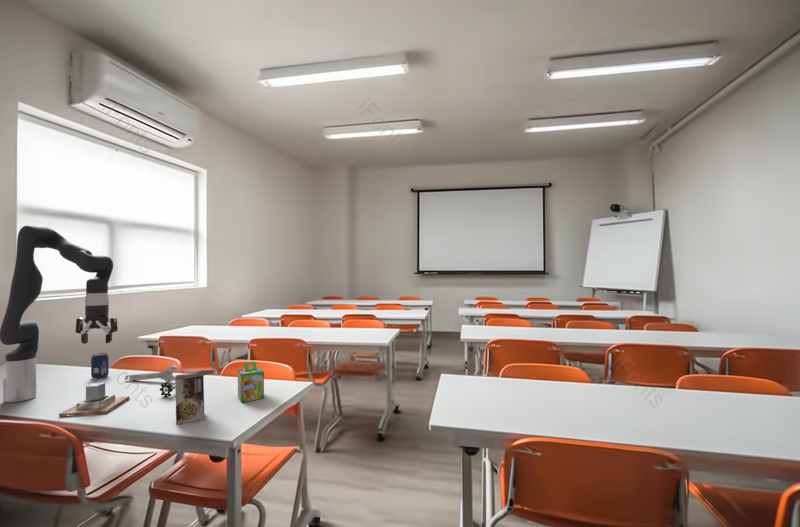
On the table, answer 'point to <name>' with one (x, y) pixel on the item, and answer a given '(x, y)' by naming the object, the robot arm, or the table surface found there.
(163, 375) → the wrench
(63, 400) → the table surface
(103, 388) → the block
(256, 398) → the chalk box
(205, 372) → the phone
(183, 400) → the printed cardboard box
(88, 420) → the table surface
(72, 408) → the collar base
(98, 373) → the soda can
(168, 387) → the valve
